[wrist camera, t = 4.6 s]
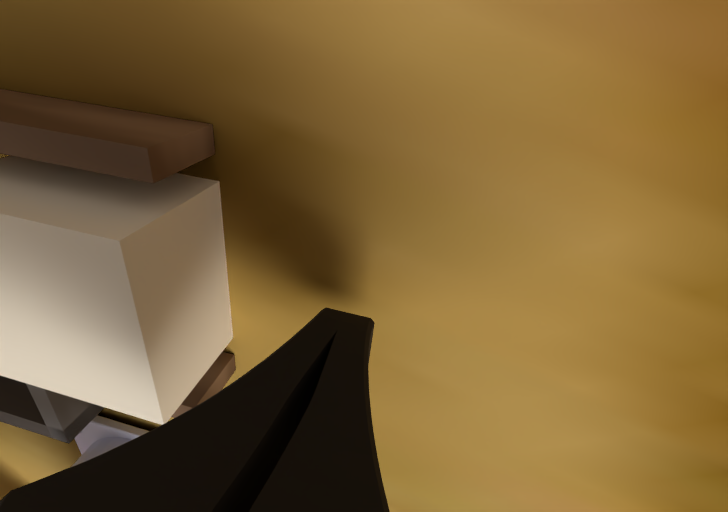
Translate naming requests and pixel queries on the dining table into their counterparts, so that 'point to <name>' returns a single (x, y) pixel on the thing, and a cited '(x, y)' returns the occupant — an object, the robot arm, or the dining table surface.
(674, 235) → the dining table surface
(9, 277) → the cream block
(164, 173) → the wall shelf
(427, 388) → the dining table surface
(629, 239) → the dining table surface
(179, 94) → the dining table surface
